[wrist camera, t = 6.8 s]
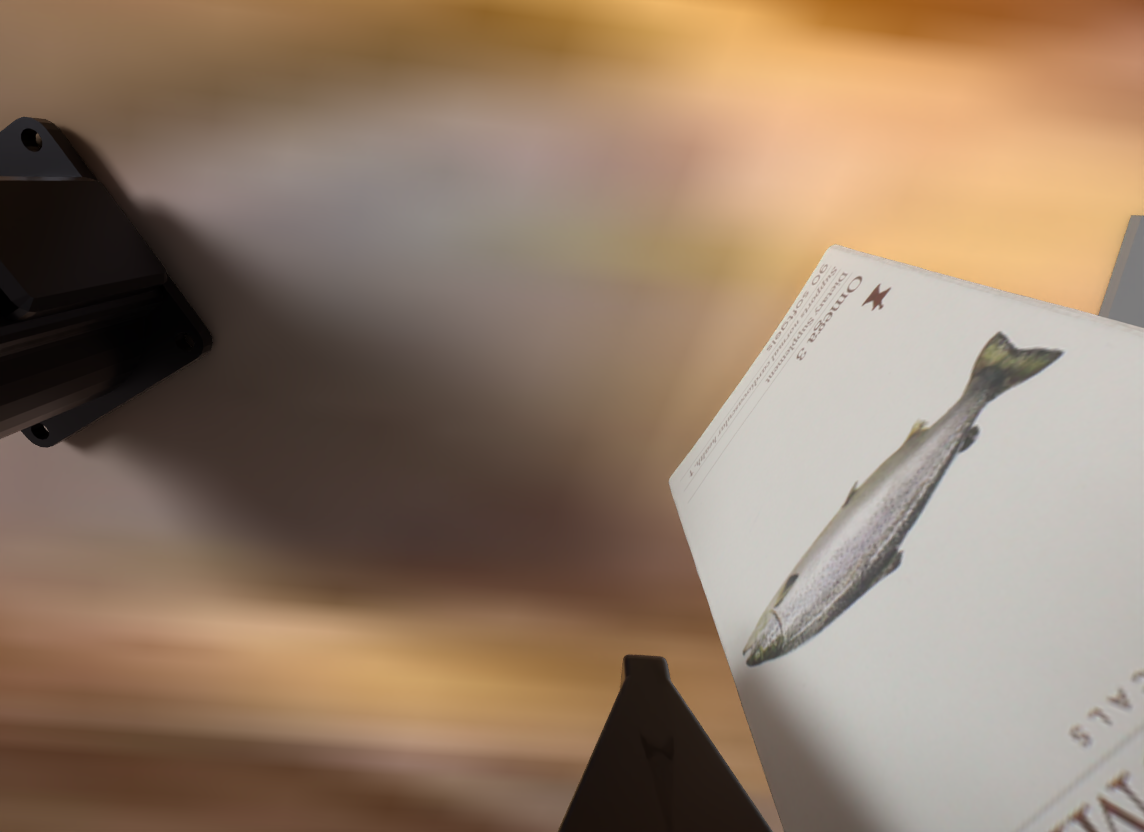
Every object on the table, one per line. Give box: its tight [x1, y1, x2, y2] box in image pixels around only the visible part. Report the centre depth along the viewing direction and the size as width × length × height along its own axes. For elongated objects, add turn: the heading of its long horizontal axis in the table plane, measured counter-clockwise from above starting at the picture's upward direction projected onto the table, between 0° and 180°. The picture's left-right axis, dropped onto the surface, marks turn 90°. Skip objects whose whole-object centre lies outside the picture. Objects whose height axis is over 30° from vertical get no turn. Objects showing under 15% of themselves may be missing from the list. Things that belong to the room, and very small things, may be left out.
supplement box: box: [669, 244, 1144, 832], centre depth 10 cm, size 7×7×13 cm
